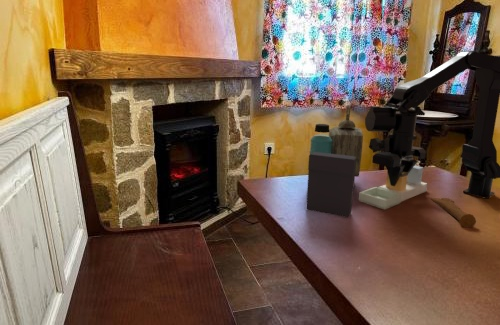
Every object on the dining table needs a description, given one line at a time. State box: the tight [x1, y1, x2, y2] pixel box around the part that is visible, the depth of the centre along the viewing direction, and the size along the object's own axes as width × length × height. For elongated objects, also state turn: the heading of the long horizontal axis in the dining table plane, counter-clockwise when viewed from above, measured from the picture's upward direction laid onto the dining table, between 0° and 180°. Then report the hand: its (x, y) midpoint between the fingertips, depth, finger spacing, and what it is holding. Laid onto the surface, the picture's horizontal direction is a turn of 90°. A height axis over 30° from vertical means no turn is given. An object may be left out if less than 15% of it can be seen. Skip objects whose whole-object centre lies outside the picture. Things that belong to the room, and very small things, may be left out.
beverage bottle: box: [307, 123, 332, 175], centre depth 105 cm, size 6×7×20 cm
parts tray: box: [358, 186, 402, 211], centre depth 98 cm, size 8×8×2 cm
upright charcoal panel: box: [305, 152, 357, 218], centre depth 89 cm, size 11×4×15 cm, turn 65°
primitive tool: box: [430, 197, 477, 228], centre depth 92 cm, size 19×6×4 cm, turn 173°
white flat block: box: [378, 181, 428, 202], centre depth 105 cm, size 15×7×2 cm, turn 129°
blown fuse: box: [385, 171, 408, 191], centre depth 102 cm, size 3×5×7 cm
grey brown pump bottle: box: [328, 104, 364, 178], centre depth 111 cm, size 14×9×25 cm, turn 170°
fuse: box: [407, 164, 424, 185], centre depth 107 cm, size 3×4×7 cm, turn 39°
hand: (396, 184), depth 102 cm, fingers open, 3 cm apart
